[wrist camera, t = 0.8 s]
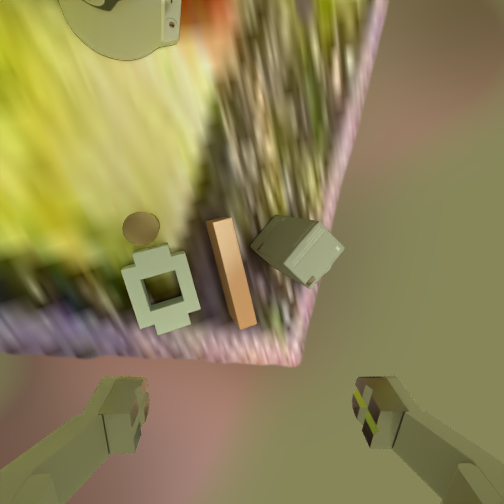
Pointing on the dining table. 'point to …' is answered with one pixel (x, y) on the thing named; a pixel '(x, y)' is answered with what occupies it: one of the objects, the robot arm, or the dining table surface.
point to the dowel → (141, 228)
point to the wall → (231, 271)
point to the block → (166, 312)
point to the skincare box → (298, 248)
